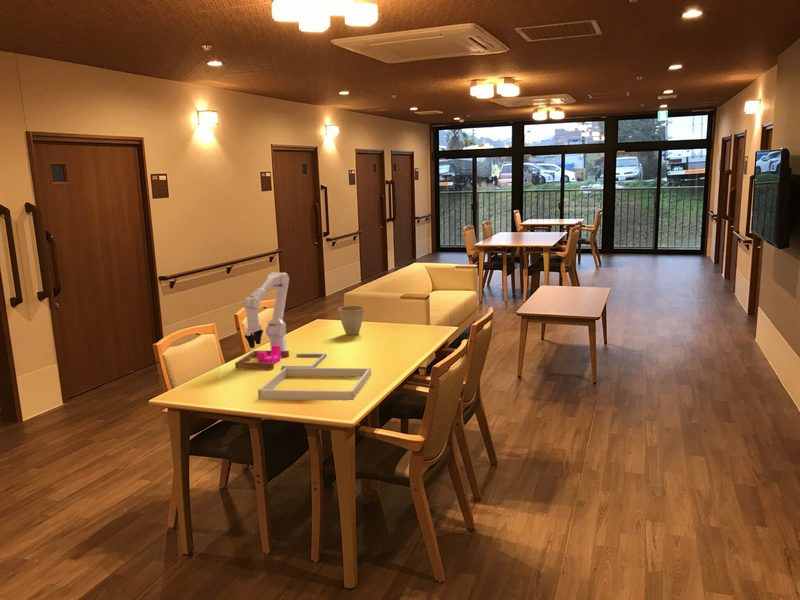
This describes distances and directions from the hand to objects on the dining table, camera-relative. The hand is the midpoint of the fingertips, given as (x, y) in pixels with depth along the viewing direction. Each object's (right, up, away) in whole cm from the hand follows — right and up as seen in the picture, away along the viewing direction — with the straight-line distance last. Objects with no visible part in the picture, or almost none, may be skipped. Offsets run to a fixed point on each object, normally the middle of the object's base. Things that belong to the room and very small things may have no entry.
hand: (255, 345), depth 330 cm
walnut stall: (+4, -9, +1) cm, 9 cm away
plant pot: (+47, +3, +52) cm, 70 cm away
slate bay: (+26, -8, -3) cm, 27 cm away
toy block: (+9, -9, 0) cm, 13 cm away
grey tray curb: (+38, -15, -43) cm, 60 cm away
